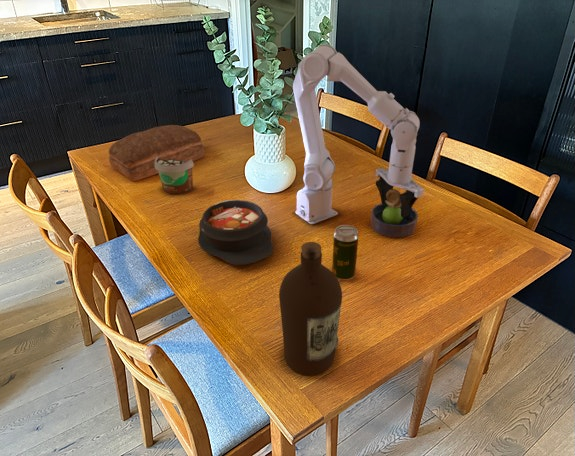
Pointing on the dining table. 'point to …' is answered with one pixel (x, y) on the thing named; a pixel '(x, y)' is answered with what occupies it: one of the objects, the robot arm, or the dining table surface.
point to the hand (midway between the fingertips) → (394, 210)
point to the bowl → (395, 231)
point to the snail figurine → (392, 208)
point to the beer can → (345, 252)
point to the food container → (175, 175)
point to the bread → (154, 150)
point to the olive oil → (310, 313)
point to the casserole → (235, 232)
